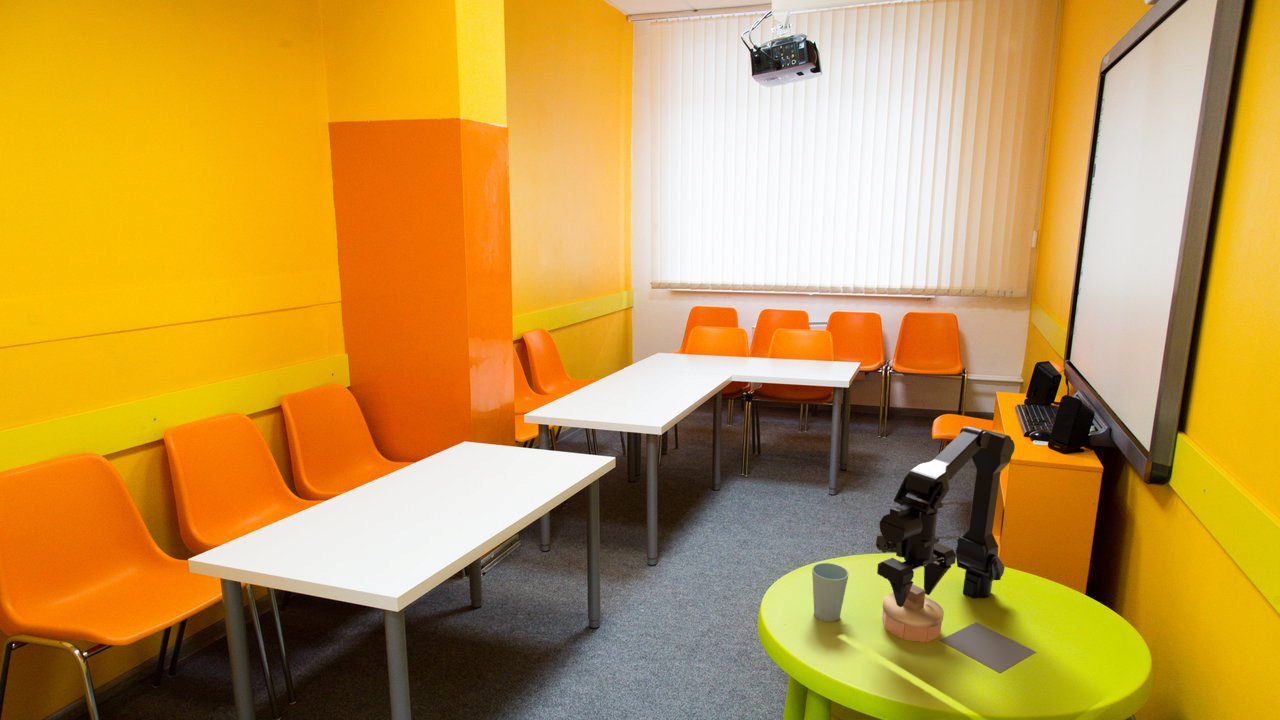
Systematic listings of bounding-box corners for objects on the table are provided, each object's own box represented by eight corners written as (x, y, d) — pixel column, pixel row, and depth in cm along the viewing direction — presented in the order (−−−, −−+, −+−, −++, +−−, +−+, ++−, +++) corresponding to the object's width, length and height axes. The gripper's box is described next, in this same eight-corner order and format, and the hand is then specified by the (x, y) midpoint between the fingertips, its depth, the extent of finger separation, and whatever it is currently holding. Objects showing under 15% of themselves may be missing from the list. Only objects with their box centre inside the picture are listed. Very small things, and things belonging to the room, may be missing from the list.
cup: (852, 620, 161) (856, 575, 159) (823, 627, 158) (827, 582, 156) (830, 603, 168) (833, 560, 166) (802, 610, 165) (805, 566, 163)
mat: (975, 627, 159) (976, 621, 159) (1035, 657, 149) (1036, 651, 148) (938, 645, 152) (939, 640, 152) (999, 678, 141) (1000, 673, 141)
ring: (904, 612, 164) (906, 593, 164) (948, 635, 156) (951, 616, 155) (871, 626, 158) (873, 607, 158) (916, 652, 150) (918, 631, 149)
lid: (906, 592, 164) (908, 570, 163) (955, 616, 155) (957, 593, 154) (870, 607, 158) (872, 584, 157) (919, 633, 148) (922, 609, 147)
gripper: (915, 508, 164) (908, 573, 167) (858, 526, 154) (853, 595, 157) (960, 525, 155) (953, 594, 158) (904, 546, 145) (897, 619, 148)
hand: (913, 600), depth 156 cm, fingers open, 9 cm apart
